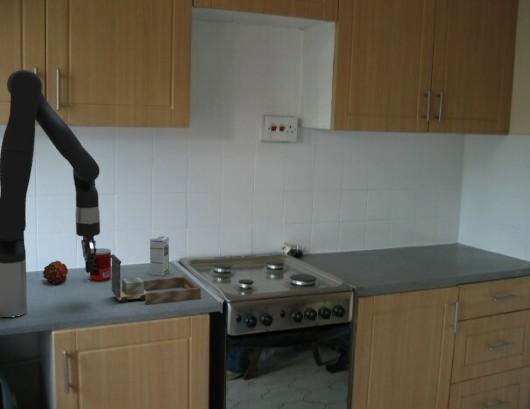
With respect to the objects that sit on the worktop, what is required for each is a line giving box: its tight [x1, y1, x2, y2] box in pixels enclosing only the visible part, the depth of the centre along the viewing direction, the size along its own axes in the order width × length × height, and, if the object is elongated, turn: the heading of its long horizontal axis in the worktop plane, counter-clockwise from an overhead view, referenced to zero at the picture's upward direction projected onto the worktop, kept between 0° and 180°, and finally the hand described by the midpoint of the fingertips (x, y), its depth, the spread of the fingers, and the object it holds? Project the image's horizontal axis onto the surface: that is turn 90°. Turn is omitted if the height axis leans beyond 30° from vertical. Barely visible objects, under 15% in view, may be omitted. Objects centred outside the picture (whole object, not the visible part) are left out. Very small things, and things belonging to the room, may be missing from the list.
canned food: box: [89, 247, 112, 283], centre depth 241 cm, size 8×8×11 cm
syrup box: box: [149, 235, 170, 277], centre depth 251 cm, size 6×6×14 cm
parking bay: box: [142, 276, 202, 305], centre depth 223 cm, size 19×16×4 cm
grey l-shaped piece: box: [111, 253, 148, 304], centre depth 217 cm, size 11×9×15 cm
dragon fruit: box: [42, 260, 69, 284], centre depth 236 cm, size 8×8×12 cm
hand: (89, 271), depth 210 cm, fingers closed
